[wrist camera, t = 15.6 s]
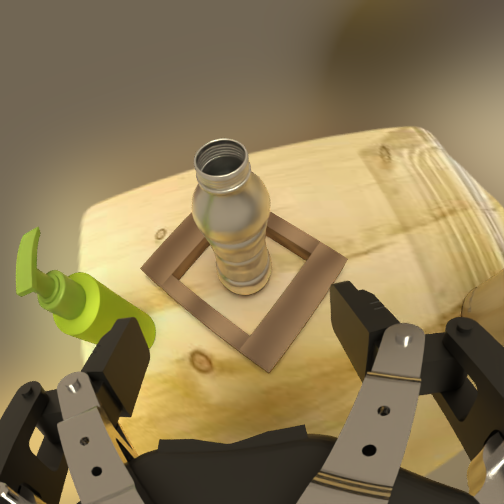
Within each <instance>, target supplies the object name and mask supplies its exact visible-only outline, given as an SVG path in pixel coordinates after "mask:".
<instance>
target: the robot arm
mask: <svg viewBox="0 0 504 504" xmlns="http://www.w3.org/2000/svg"><path fill="white" fill-rule="evenodd" d="M330 303H331V322H332V327H333V330H334V332H335V334H336V336H337V337H338V339H339V341H340V343H341V345H342V346H343V348H344V350H345V352H346V354H347V355H348V357H349V359H350V361H351V363H352V365H353V366H354V368H355V370H356V372H357V374H358V376H359V377H360V379H361V381H362V383H363V384H362V386H361V389H360V391H359V393H358V396H357V398H356V401H355V403H354V405H353V407H352V410H351V412H350V414H349V416H348V418H347V421H346V423H345V425H344V427H343V429H342V431H341V433H340V435H339V437H338V438H336V437H333V436H328V435H320V434H307V432H306V428H305V424H304V425H300V426H295V427H290V428H285V429H279V430H274V431H268V432H265V433H262V434H259V435H256V436H254V437H251V438H248V439H245V440H242V441H239V442H235V443H232V444H223V443H215V442H208V441H201V440H195V439H174V440H161V439H160V440H159V445H158V449H157V450H153V451H150V452H147V453H144V454H142V455H140V456H138V454H137V452H136V451H135V449H134V447H133V446H132V444H131V442H130V441H129V439H128V437H127V435H126V433H125V432H124V430H123V428H122V426H121V425H120V423H119V422H118V420H119V417H131V416H132V413H133V409H134V406H135V403H136V400H137V397H138V394H139V391H140V388H141V384H142V381H143V378H144V375H145V372H146V370H147V367H148V364H149V361H150V352H149V348H148V345H147V343H146V340H145V338H144V335H143V333H142V330H141V328H140V325H139V323H138V321H137V319H136V318H135V317H128V318H120V319H117V320H116V322H115V323H114V325H113V327H112V328H111V330H110V331H108V332H107V333H106V334H105V335H104V336H103V337H102V338H101V339H100V340H99V342H98V344H97V345H96V347H95V348H94V350H93V353H91V355H90V357H89V358H88V360H87V362H86V363H85V365H84V367H83V369H82V370H81V372H74V373H71V374H69V375H67V376H65V377H64V378H63V379H62V380H61V381H60V383H59V384H58V386H57V389H55V390H50V391H45V390H44V389H43V388H42V386H41V385H40V383H38V382H36V381H32V382H28V383H26V384H24V385H23V386H21V387H20V388H19V389H18V391H17V392H16V394H15V395H14V397H13V399H12V401H11V402H10V404H9V405H8V407H7V409H6V410H5V412H4V414H3V416H2V418H1V419H0V504H59V501H60V497H61V493H62V490H63V486H64V482H65V479H66V475H67V472H68V468H69V470H70V473H71V476H72V479H73V482H74V485H75V487H76V490H77V493H78V495H79V498H80V500H81V501H80V502H78V503H77V504H504V347H503V346H504V269H503V270H502V271H500V272H499V273H497V274H496V275H494V276H493V277H491V278H490V279H488V280H487V281H485V282H484V283H482V284H481V285H479V286H478V287H476V288H475V289H473V290H472V291H471V292H469V294H468V295H467V296H466V298H465V301H464V304H463V308H462V317H457V318H453V319H451V320H450V321H449V322H448V323H447V325H446V329H445V332H443V333H435V334H424V332H423V330H422V329H421V328H419V327H418V326H415V325H413V324H408V323H400V322H399V321H398V320H397V319H396V318H395V317H394V316H393V314H392V313H391V312H390V311H389V310H388V309H387V308H386V307H384V305H383V304H382V303H381V302H379V300H378V299H377V298H376V297H375V296H374V294H372V293H370V292H368V291H365V290H357V289H356V288H355V286H354V285H353V284H352V283H351V282H350V281H344V282H339V283H335V284H331V286H330ZM467 375H469V376H470V377H471V379H472V380H473V381H474V383H475V384H476V386H477V390H478V391H477V390H476V388H475V387H474V386H473V384H472V383H471V382H470V381H469V379H468V378H467ZM426 394H432V395H433V397H434V398H435V400H436V402H437V403H438V405H439V406H440V408H441V410H442V411H443V413H444V415H445V416H446V418H447V420H448V421H449V423H450V425H451V426H452V428H453V430H454V432H455V433H456V435H457V437H458V439H459V440H460V442H461V444H462V446H463V447H464V449H465V451H466V453H467V455H468V456H469V458H470V460H471V463H470V465H469V467H468V470H467V479H468V487H469V493H467V492H465V491H462V490H459V489H456V488H453V487H450V486H447V485H444V484H441V483H439V482H436V481H433V480H431V479H428V478H426V477H423V476H421V475H418V474H416V473H413V472H411V471H408V470H406V469H404V468H402V467H400V465H401V462H402V459H403V456H404V452H405V449H406V446H407V442H408V439H409V435H410V431H411V427H412V423H413V419H414V415H415V410H416V406H417V401H418V396H419V395H426ZM35 427H37V428H38V429H39V430H40V431H41V433H42V434H43V435H44V439H43V441H42V444H41V446H40V449H39V451H38V454H37V456H35V455H34V454H33V453H32V452H31V450H30V447H29V440H30V438H31V436H32V433H33V431H34V429H35Z"/></svg>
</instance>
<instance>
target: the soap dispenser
mask: <svg viewBox="0 0 504 504" xmlns="http://www.w3.org/2000/svg"><path fill="white" fill-rule="evenodd" d="M39 237H40V230H39V227H37V228H35V229H33V230H31V231H29V232H28V233H26V234H24V235H23V237H22V240H21V243H20V246H19V250H18V255H17V263H16V294H17V295H19V296H21V297H22V296H25V295H27V294H29V293H31V292H35V293H37V296H38V301H39V304H40V306H41V307H42V308H44V309H46V310H47V311H49V312H51V313H53V317H54V321H55V323H56V325H57V327H58V328H59V329H60V330H61V331H62V332H64V333H65V334H68V335H71V336H73V337H76V338H79V339H82V340H85V341H88V342H91V343H94V344H98V342H99V340H100V339H101V338H102V337H103V336H104V335H105V334H106V333H107V332H108V331H110V330H111V328H112V327H113V325H114V323H115V322H116V320H117V319H120V318H128V317H135V318H136V319H137V321H138V323H139V325H140V328H141V330H142V333H143V335H144V338H145V340H146V343H147V345H148V348H150V347H151V346H152V344H153V342H154V339H155V334H156V330H155V325H154V322H153V320H152V319H151V317H150V316H149V315H147V314H146V313H145V312H143V311H141V310H140V309H138V308H137V307H135V306H134V305H132V304H131V303H129V302H128V301H126V300H125V299H123V298H122V297H120V296H119V295H117V294H116V293H114V292H113V291H111V290H110V289H109V288H107V287H106V286H104V285H103V284H101V283H100V282H99V281H97V280H96V279H94V278H93V277H92V276H90V275H89V274H86V273H82V272H78V273H74V274H72V275H70V276H68V277H67V276H66V275H64V274H63V273H62V272H60V271H57V270H52V271H50V272H48V273H47V274H45V273H43V272H42V271H40V270H39V269H37V246H38V241H39Z"/></svg>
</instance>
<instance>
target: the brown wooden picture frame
mask: <svg viewBox="0 0 504 504" xmlns="http://www.w3.org/2000/svg"><path fill="white" fill-rule="evenodd" d="M266 235H267V236H268V237H270V238H272V239H273V240H275V241H276V242H278V243H279V244H281V245H283V246H284V247H286V248H287V249H289V250H291V251H292V252H294V253H295V254H297V255H298V256H300V257H302V258H303V259H305V260H306V262H305V264H304V265H303V267H302V268H301V269H300V271H299V272H298V273H297V275H296V276H295V278H294V279H293V280H292V282H291V283H290V284H289V286H288V287H287V288H286V290H285V291H284V292H283V294H282V295H281V296H280V298H279V299H278V300H277V302H276V303H275V304H274V306H273V307H272V308H271V310H270V311H269V312H268V314H267V315H266V316H265V318H264V319H263V320H262V321H261V323H260V324H259V325H258V327H257V328H256V329H255V331H254V332H253V333H252V334H251V336H249V335H248V334H247V333H245V332H244V331H243V330H241V329H240V328H238V327H237V326H236V325H234V324H233V323H232V322H230V321H229V320H228V319H227V318H225V317H224V316H223V315H221V314H220V313H219V312H217V311H216V310H215V309H214V308H212V307H211V306H210V305H208V304H207V303H206V302H205V301H203V300H202V299H201V298H200V297H198V296H197V295H196V294H195V293H193V292H192V291H191V290H190V289H188V288H187V287H186V286H185V285H183V284H182V283H181V282H180V281H179V279H180V278H181V277H182V276H183V275H184V273H185V272H186V271H187V270H188V269H189V268H190V267H191V265H192V264H193V263H194V262H195V261H196V260H197V259H198V257H199V256H200V255H201V254H202V253H203V252H204V251H205V249H206V248H207V247H208V246H209V245H210V243H209V242H208V241H207V239H206V238H205V237H204V235H203V234H202V232H201V231H200V230H199V228H198V226H197V225H196V223H195V221H194V219H193V215H192V213H191V214H190V215H189V216H188V217H187V218H186V219H185V220H184V221H183V222H182V223H181V224H180V225H179V226H178V227H177V228H176V229H175V230H174V232H173V233H172V234H171V235H170V236H169V237H168V238H167V239H166V240H165V241H164V242H163V243H162V245H161V246H160V247H159V248H158V249H157V250H156V251H155V252H154V253H153V254H152V256H151V257H150V258H149V259H148V260H147V261H146V262H145V264H144V265H143V266H142V267H141V268H140V269H141V270H142V271H143V272H144V273H145V274H146V275H147V276H148V277H150V278H151V279H152V280H153V281H154V282H155V283H156V284H157V285H158V286H160V287H161V288H162V289H163V290H164V291H165V292H166V293H168V294H169V295H170V296H171V297H172V298H173V299H174V300H176V301H177V302H178V303H179V304H180V305H182V306H183V307H184V308H185V309H186V310H187V311H189V312H190V313H191V314H192V315H193V316H195V317H196V318H197V319H198V320H200V321H201V322H202V323H203V324H205V325H206V326H207V327H208V328H210V329H211V330H212V331H213V332H215V333H216V334H217V335H218V336H220V337H221V338H222V339H223V340H225V341H226V342H227V343H229V344H230V345H231V346H233V347H234V348H235V349H237V350H238V351H239V352H241V353H242V354H243V355H245V356H246V357H247V358H249V359H250V360H251V361H253V362H254V363H255V364H257V365H258V366H260V367H261V368H262V369H264V370H265V371H267V372H268V373H270V371H271V370H272V369H273V368H274V366H275V365H276V364H277V362H278V361H279V360H280V358H281V357H282V356H283V354H284V353H285V352H286V350H287V349H288V348H289V346H290V345H291V344H292V342H293V341H294V339H295V338H296V337H297V335H298V334H299V332H300V331H301V330H302V328H303V327H304V325H305V324H306V323H307V321H308V320H309V318H310V317H311V315H312V314H313V313H314V311H315V310H316V308H317V307H318V305H319V304H320V302H321V301H322V299H323V298H324V296H325V295H326V293H327V292H328V290H329V289H330V286H331V284H333V283H334V281H335V279H336V278H337V276H338V275H339V273H340V272H341V270H342V268H343V267H344V265H345V263H346V261H347V260H348V259H347V258H345V257H344V256H342V255H341V254H339V253H338V252H336V251H334V250H333V249H331V248H330V247H328V246H326V245H325V244H323V243H322V242H320V241H318V240H317V239H315V238H313V237H312V236H310V235H309V234H307V233H305V232H304V231H302V230H300V229H299V228H297V227H295V226H294V225H292V224H290V223H289V222H287V221H285V220H284V219H282V218H280V217H279V216H277V215H275V214H273V213H272V212H270V213H269V218H268V222H267V227H266Z"/></svg>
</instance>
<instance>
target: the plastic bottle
mask: <svg viewBox="0 0 504 504" xmlns="http://www.w3.org/2000/svg"><path fill="white" fill-rule="evenodd" d="M194 167H195V170H196V177H197V180H198V185H197V187H196V189H195V191H194V193H193V198H192V215H193V219H194V221H195V223H196V225H197V226H198V228H199V230H200V231H201V232H202V234H203V235H204V237H205V238H206V239H207V241H208V242H209V243H210V245H211V247H212V249H213V251H214V253H215V257H216V268H217V274H218V277H219V279H220V281H221V282H222V283H223V284H224V286H225V287H227V288H228V289H229V290H230V291H232V292H234V293H236V294H241V295H248V294H253V293H255V292H257V291H259V290H260V289H261V288H262V287H263V286H264V285H265V284H266V282H267V281H268V279H269V276H270V274H271V269H272V262H271V258H270V254H269V252H268V249H267V247H266V243H265V236H266V227H267V222H268V218H269V213H270V196H269V193H268V191H267V189H266V187H265V185H264V183H263V181H262V180H261V179H260V178H259V177H258V176H257V175H256V174H254V173H253V172H252V171H251V165H250V162H249V158H248V152H247V150H246V148H245V146H244V145H243V144H242V143H240V142H238V141H236V140H233V139H227V138H224V139H216V140H213V141H210V142H208V143H206V144H205V145H203V146H202V147H201V148H200V149H199V150H198V151H197V153H196V155H195V157H194Z"/></svg>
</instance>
